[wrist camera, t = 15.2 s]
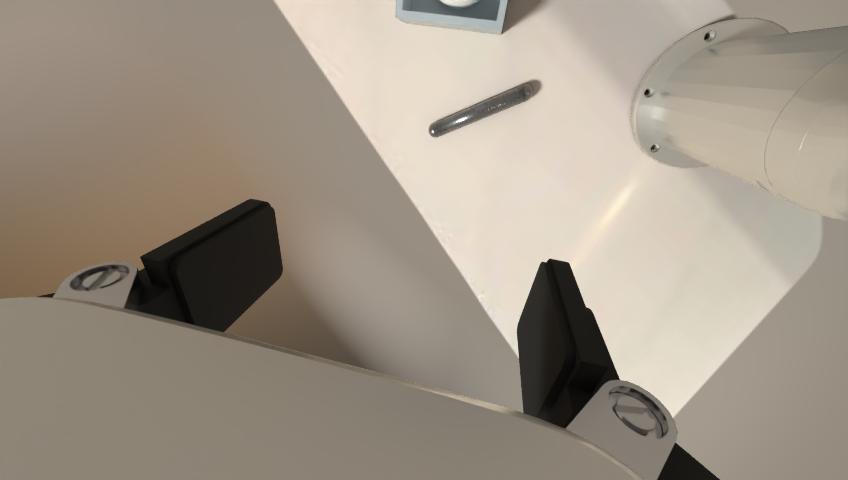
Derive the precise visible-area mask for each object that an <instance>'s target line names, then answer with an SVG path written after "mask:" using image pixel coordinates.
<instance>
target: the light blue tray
mask: <svg viewBox="0 0 848 480" xmlns="http://www.w3.org/2000/svg"><path fill="white" fill-rule="evenodd" d="M507 2H508V0H480V1H479V2H478V3H476V4H474V5H473V6H470V7H467V8H462V9H457V8H452V7H449V6H447V5H445V4H443V3H442V2H441V1H440V0H396V13H395V18H397V19H399V20H401V21H403V22H405V23H409V24H417V25H425V26H434V27H442V28H450V29H458V30H467V31H475V32H483V33H492V34H500V35H501V32H502V27H503V22H504V17H505V12H506V7H507Z"/></svg>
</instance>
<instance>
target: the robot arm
mask: <svg viewBox="0 0 848 480" xmlns="http://www.w3.org/2000/svg"><path fill="white" fill-rule="evenodd" d="M705 34H707V38H706V39H705V40H704V36H705ZM646 89H648V93H647V94H646V95H644V92H645V90H646ZM631 127H632V133H633V135H634V138H635V140H636V142H637V144H638V145H639V147H640V148H641V149H642V151H643V152H645V153H646V154H647V155H648V156H649V157H651V158H653V159H654V160H656V161H658V162H660V163H662V164H665V165H668V166H671V167H678V168H699V167H705V166H711V167H713V168H716V169H718V170H720V171H722V172H725V173H727V174H729V175H731V176H734V177H736V178H738V179H740V180H742V181H745V182H747V183H749V184H751V185H754V186H756V187H758V188H760V189H762V190H765V191H767V192H769V193H771V194H774V195H776V196H778V197H780V198H783V199H785V200H787V201H789V202H791V203H794V204H796V205H799V206H801V207H803V208H806V209H808V210H810V211H813V212H816V213H818V214H821V215H824V216H827V217H830V218H835V219H839V220H844V221H848V26H843V27H835V28H827V29H818V30H811V31H803V32H795V33H789V32H788V31H787V30H786V29H785V28H784V27H782V26H780V25H778V24H776V23H774V22H772V21H768V20H763V19H759V18H737V19H731V20H725V21H722V22H718V23H715V24H711V25H708V26H705V27H703V28H701V29H699V30H697V31H694V32H692V33H690V34H689V35H687V36H686V37H684V38H683V39H681V40H679V41H678V42H676V43H675V44H674V45H673V46H672V47H670V48H669V49H668V50H667V51H666V52H664V53H663V54H662V55H661V56H660V57H659V59H658V60H657V61H656V62H655V63H654V64H653V65H652V66H651V68H650V69H649V71H648V72H647V73H646V75H645V76H644V78H643V79H642V81H641V83H640V85H639V87H638V90H637V92H636V94H635V97H634V101H633V104H632V109H631ZM652 145H654V147H653V148H652V149H650V148H651V147H652ZM140 258H141V260H142V262H143V265H144V267H145V268H144V269H143V270H141V271H138V269H137V267H136V266H135V265H134V264H133V263H129V262H123V261H115V262H106V263H101V264H97V265H94V266H90V267H87V268H85V269H82V270H80V271H77V272H75V273H74V274H72V275H71V276H69V277H68V278H66V279H65V280H64V281H63V282H62V284H61V285H60V287H59V288H58V290H57V291H56V293H53V294H48V295H43V296H38V297H23V298H5V299H0V480H720V479H718V478H717V477H716V476H715V475H714V474H712V473H711V472H710V471H709V470H707V469H706V468H705V467H704V466H703V465H702V464H700V463H699V462H698V461H697V460H695V458H693V457H692V456H691V455H690V454H689V453H687V452H686V451H685V450H684V449H682V448H681V447H680V446H679V445H678V444H677V443H675V442H676V439H677V433H678V431H677V428H676V424H675V421H674V419H673V418H672V416H671V414H670V413H669V411H668V410H667V409H666V408H665V407H664V405H663V404H662V403H661V402H660V401H659V400H658V399H657V398H655V397H654V396H653V395H652V394H651V393H649V392H648V391H646V390H644V389H643V388H641V387H639V386H638V385H635V384H633V383H630V382H628V381H622V380H620V379H619V377H618V374H617V372H616V369H615V367H614V364H613V362H612V359H611V357H610V354H609V352H608V349H607V347H606V344H605V342H604V339H603V337H602V334H601V332H600V329H599V327H598V324H597V322H596V319H595V317H594V314H593V312H592V311H591V310H590V309H589V308H586V306H585V304H584V301H583V298H582V296H581V293H580V290H579V288H578V285H577V283H576V280H575V277H574V275H573V272H572V269H571V267H570V264H569V263H568V262H564V261H559V260H554V259H549V260H548V261H547V263H546V262H541V264H540V266H539V269H538V271H537V274H536V277H535V279H534V282H533V285H532V287H531V290H530V293H529V296H528V298H527V301H526V304H525V306H524V309H523V312H522V314H521V317H520V320H519V323H518V327H517V339H518V351H519V363H520V375H521V387H522V397H523V398H522V399H523V410H524V413H521V412H518V411H515V410H512V409H509V408H505V407H502V406H499V405H495V404H491V403H488V402H484V401H481V400H477V399H474V398H470V397H467V396H463V395H460V394H456V393H453V392H449V391H445V390H442V389H438V388H434V387H430V386H427V385H423V384H419V383H415V382H412V381H408V380H404V379H400V378H396V377H393V376H389V375H385V374H381V373H378V372H374V371H370V370H366V369H362V368H359V367H355V366H351V365H347V364H344V363H340V362H335V361H331V360H328V359H324V358H321V357H316V356H313V355H309V354H305V353H301V352H297V351H294V350H290V349H286V348H282V347H278V346H274V345H270V344H266V343H263V342H259V341H255V340H251V339H247V338H243V337H239V336H235V335H231V334H227V333H223V332H224V331H225V330H226V329H227V328H228V327H229V326H231V325H232V324H233V323H234V322H235V321H236V320H237V319H238V318H239V317H240V316H241V315H242V314H243V313H244V312H245V311H246V310H247V309H248V308H249V307H250V306H251V305H252V304H253V303H254V302H255V301H256V300H257V299H258V298H260V297H261V295H263V294H264V293H265V292H266V291H267V290H268V289H269V288H270V287H271V286H272V285H273V284H274V283H275V282H276V281H277V280H278V279H279V278H280V277H281V274H282V271H283V266H282V260H281V253H280V246H279V239H278V232H277V225H276V218H275V211H274V209H273V208H272V207H271V206H270V204H269V203H268V202H264V201H260V200H254V199H249V200H247V201H245V202H243V203H241V204H240V205H237V206H236V207H234V208H232V209H230V210H228V211H226V212H224V213H222V214H220V215H219V216H217V217H215V218H213V219H211V220H209V221H207V222H205V223H203V224H201V225H200V226H198V227H196V228H194V229H192V230H190V231H188V232H186V233H184V234H183V235H181V236H179V237H177V238H175V239H173V240H171V241H169V242H168V243H165V244H164V245H162V246H160V247H158V248H156V249H154V250H152V251H151V252H148V253H147V254H145V255H143V256H141V257H140Z"/></svg>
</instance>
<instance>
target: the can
mask: <svg viewBox="0 0 848 480" xmlns="http://www.w3.org/2000/svg"><path fill="white" fill-rule="evenodd" d="M440 1H441V2H442V3H443V4H445V5H447V6H449V7H452V8H457V9H462V8H467V7H470V6H473V5H474V4H476V3H478V2H479V1H480V0H440Z"/></svg>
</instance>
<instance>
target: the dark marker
mask: <svg viewBox="0 0 848 480" xmlns="http://www.w3.org/2000/svg"><path fill="white" fill-rule="evenodd" d="M532 94H533V89H532V87H531V86H530V85H528V84H523V85H521V86H518V87H516V88H514V89H511V90H509V91H507V92H504V93H502V94H500V95H497V96H495V97H493V98H490V99H488V100H486V101H483V102H481V103H479V104H477V105H474V106H472V107H470V108H467V109H465V110H463V111H460V112H458V113H456V114H453V115H451V116H449V117H446V118H444V119H442V120H439V121H437V122H435V123H432V124H431V125H430V127H429V134H430V135H431V136H432V137H439V136H442V135H444V134H447V133H449V132H451V131H454V130H456V129H459V128H461V127H464V126H466V125H469V124H471V123H473V122H476V121H478V120H481V119H483V118H486V117H488V116H491V115H493V114H495V113H498V112H500V111H503V110H505V109H508V108H510V107H513V106H515V105H517V104H520V103H522V102H525V101H527V100H529V99H530V98H531V96H532Z"/></svg>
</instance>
